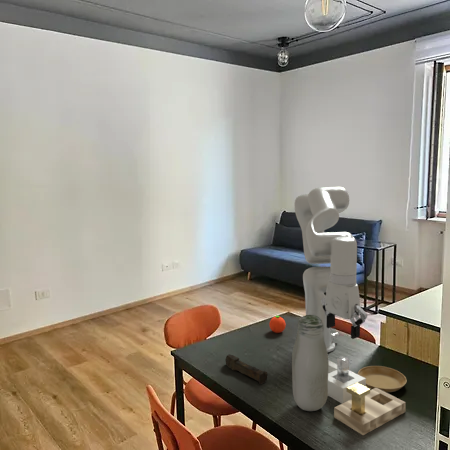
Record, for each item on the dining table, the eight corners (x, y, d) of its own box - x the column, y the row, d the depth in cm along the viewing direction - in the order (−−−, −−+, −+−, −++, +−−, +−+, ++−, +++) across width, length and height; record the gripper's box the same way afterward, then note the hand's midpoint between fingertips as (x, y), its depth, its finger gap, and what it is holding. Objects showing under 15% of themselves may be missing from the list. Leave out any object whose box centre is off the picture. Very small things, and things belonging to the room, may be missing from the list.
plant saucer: (409, 379, 140) (409, 371, 139) (402, 401, 127) (402, 393, 127) (363, 369, 147) (363, 362, 147) (352, 389, 135) (352, 381, 134)
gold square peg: (357, 413, 121) (357, 382, 120) (369, 420, 117) (370, 389, 116) (346, 418, 119) (346, 387, 117) (359, 426, 115) (359, 394, 114)
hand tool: (268, 381, 142) (268, 368, 141) (260, 386, 139) (259, 372, 138) (231, 362, 156) (231, 350, 155) (223, 366, 154) (222, 354, 153)
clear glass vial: (342, 388, 135) (342, 355, 134) (351, 393, 132) (351, 359, 131) (334, 391, 133) (334, 358, 132) (343, 396, 130) (343, 362, 129)
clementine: (269, 328, 186) (268, 312, 185) (285, 328, 186) (285, 312, 185) (269, 335, 178) (269, 319, 177) (286, 335, 178) (286, 319, 177)
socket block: (375, 396, 130) (375, 387, 129) (405, 412, 121) (405, 402, 121) (334, 417, 120) (334, 407, 120) (363, 435, 112) (363, 424, 111)
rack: (327, 373, 145) (327, 359, 144) (365, 393, 132) (365, 378, 131) (305, 382, 140) (305, 367, 139) (343, 404, 126) (343, 388, 126)
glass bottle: (306, 421, 119) (305, 325, 115) (286, 403, 128) (285, 313, 124) (335, 412, 123) (335, 318, 119) (314, 395, 132) (313, 308, 128)
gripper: (313, 274, 133) (313, 326, 136) (358, 288, 118) (357, 345, 121) (330, 269, 137) (330, 320, 140) (375, 282, 122) (374, 338, 125)
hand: (342, 332), depth 131 cm, fingers open, 9 cm apart
